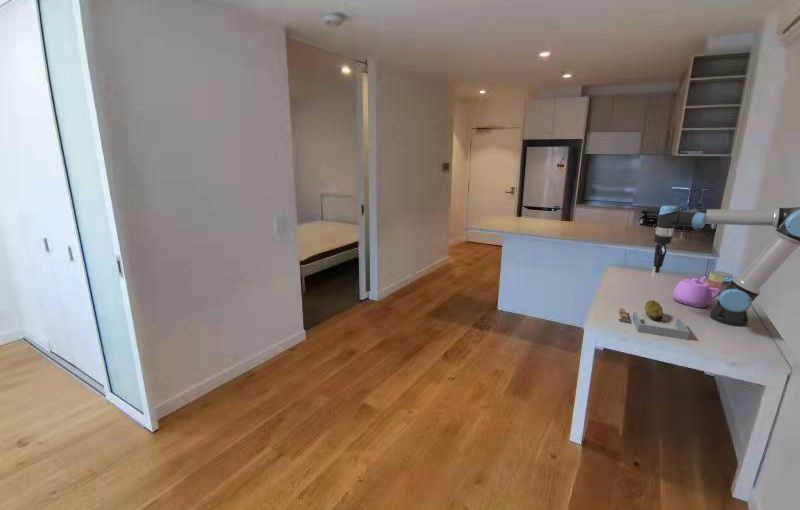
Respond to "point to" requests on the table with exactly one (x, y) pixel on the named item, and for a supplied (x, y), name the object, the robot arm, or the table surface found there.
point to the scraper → (623, 316)
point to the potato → (654, 310)
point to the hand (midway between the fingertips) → (655, 277)
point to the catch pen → (662, 329)
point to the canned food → (717, 279)
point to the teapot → (694, 292)
